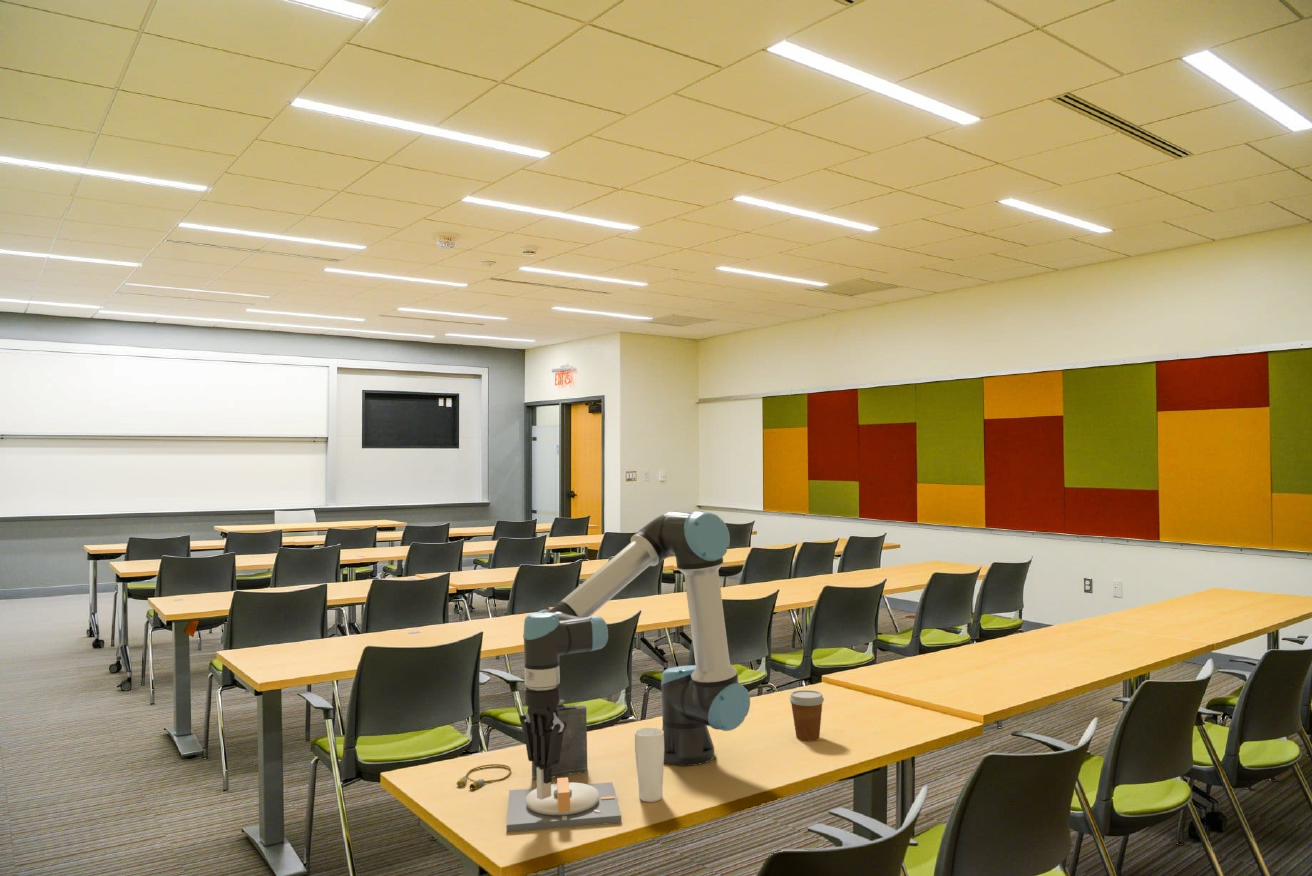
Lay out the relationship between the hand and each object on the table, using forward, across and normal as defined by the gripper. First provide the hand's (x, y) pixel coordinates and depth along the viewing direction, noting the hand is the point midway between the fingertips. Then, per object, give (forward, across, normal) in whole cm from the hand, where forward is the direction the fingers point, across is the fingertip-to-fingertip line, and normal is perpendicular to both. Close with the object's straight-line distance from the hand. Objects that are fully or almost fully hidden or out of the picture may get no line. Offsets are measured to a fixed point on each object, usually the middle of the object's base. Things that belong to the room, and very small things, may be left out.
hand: (544, 797), depth 181 cm
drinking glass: (+5, +10, +23) cm, 26 cm away
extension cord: (+6, -32, +8) cm, 34 cm away
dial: (+3, -1, +6) cm, 7 cm away
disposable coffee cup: (+5, +14, +83) cm, 85 cm away
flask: (+5, -19, +21) cm, 29 cm away
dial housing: (+5, -2, +7) cm, 8 cm away
